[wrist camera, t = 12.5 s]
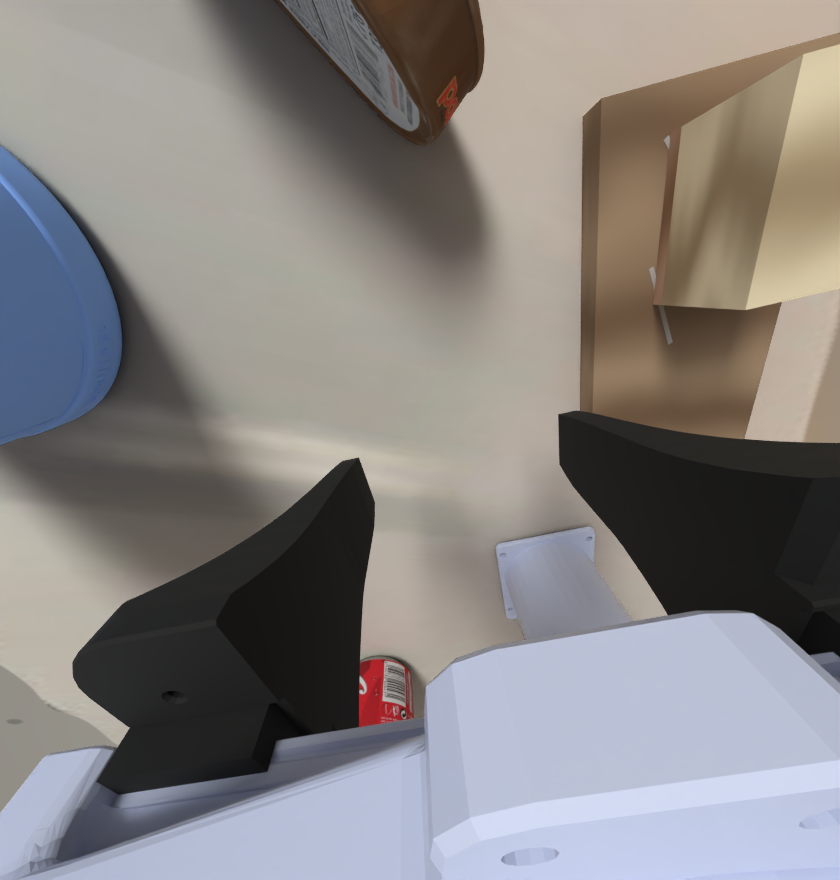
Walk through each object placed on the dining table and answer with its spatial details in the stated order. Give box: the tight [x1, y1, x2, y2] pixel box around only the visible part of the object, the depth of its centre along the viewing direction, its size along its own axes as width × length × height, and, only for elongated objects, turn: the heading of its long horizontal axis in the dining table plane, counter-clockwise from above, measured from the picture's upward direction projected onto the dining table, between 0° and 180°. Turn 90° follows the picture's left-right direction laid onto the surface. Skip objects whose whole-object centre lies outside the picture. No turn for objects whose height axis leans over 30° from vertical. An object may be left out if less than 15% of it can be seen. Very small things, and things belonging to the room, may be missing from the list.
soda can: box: [359, 656, 413, 727], centre depth 28 cm, size 7×7×12 cm
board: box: [580, 33, 840, 439], centre depth 18 cm, size 20×10×2 cm, turn 13°
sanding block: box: [653, 44, 840, 310], centre depth 13 cm, size 7×4×5 cm, turn 13°
